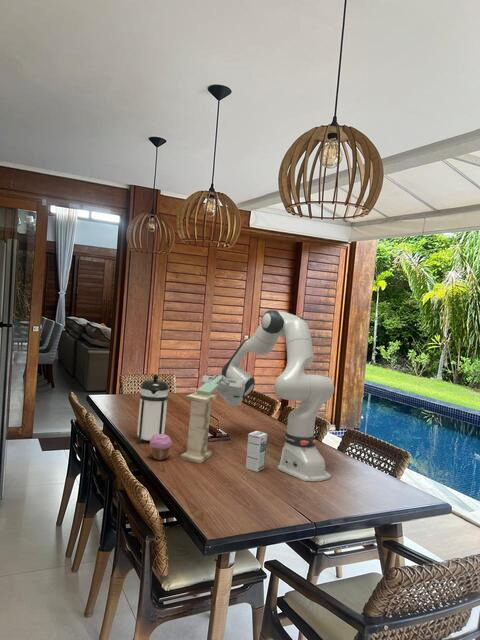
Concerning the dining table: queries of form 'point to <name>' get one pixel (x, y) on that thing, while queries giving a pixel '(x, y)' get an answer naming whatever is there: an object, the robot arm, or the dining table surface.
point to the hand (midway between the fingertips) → (219, 377)
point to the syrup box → (256, 451)
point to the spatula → (210, 386)
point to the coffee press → (152, 408)
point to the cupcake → (160, 446)
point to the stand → (198, 427)
